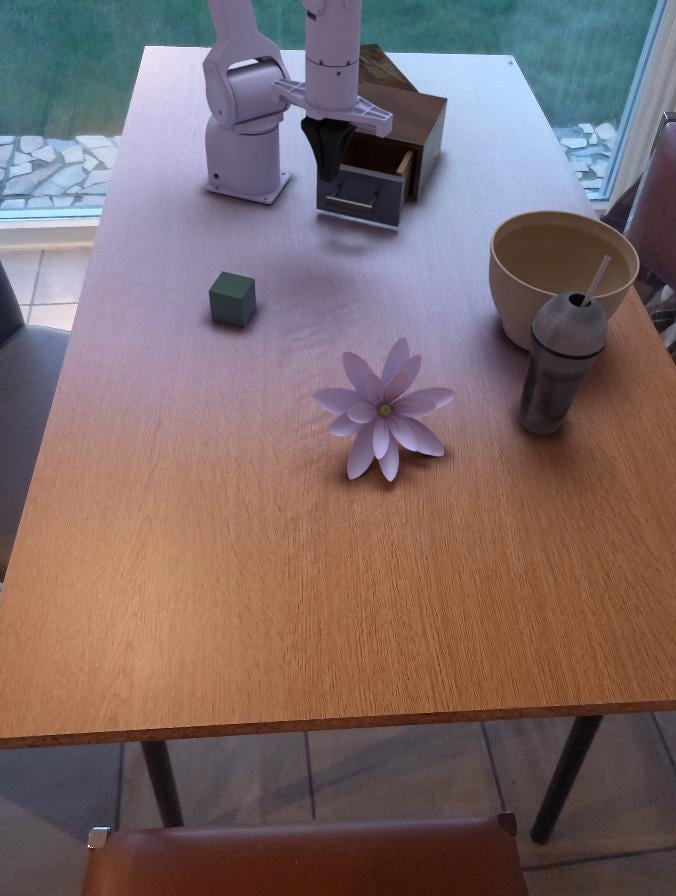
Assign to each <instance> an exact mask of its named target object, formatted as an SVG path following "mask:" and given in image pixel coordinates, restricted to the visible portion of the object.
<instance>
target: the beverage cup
mask: <svg viewBox="0 0 676 896" xmlns="http://www.w3.org/2000/svg"><path fill="white" fill-rule="evenodd" d="M609 261H610V257H609V256H605V258H604V260H603V262H602V264H601V266H600V268H599V270H598V272H597V274H596V276H595V278H594V281H593V283H592V285H591V287H590V289H589V291H588V293H587V294H585V293H581V292H574V291H572V292H565V293H561V294H559V295H556V296H554V297H553V298H551V299H550V300H549V301H548V302H547V303H545V304H544V305H543V306H542V307H541V309H540V310H539V312H538V314H537V316H536V318H535V319H534V320H533V323H532V325H531V337H530V351H529V353H528V359H527V360H528V361H527V365H526V370H525V375H524V379H523V380H524V381H523V385H522V390H521V397H520V402H519V413H518V421H519V422H520V424H521V426H522V427H523V428H524V429H526V430H527V431H529V432H531V433H534V434H537V435H550V434H552V433H554V432H555V433H556V431H557V430H558V429H559V427H560V425H561V424H562V422H563V420H564V419H565V418H566V415H568V412H569V410H570V408H571V406H572V404H573V403H574V400H575V398H576V396H577V394H578V393H579V391H580V389H581V386H582V384H583V382H584V380H585V378H586V377H587V374H588V373H589V371H590V369H591V367H592V366H593V365H594V364H595V362H596V361H597V359H598V358H599V357H600V355H601V353H602V352H603V351H604V350H605V347H606V344H607V337H608V336H607V335H608V332H609V331H608V330H609V328H608V321H607V319H606V315H605V312H604V310H603V308H602V307H601V305H600V304H599V303H598V302H597V301H596V300H595V299H594V298H593V297H592V295H593V293H594V291H595V289H596V287H597V285H598V283H599V281H600V279H601V277H602V275H603V273H604V271H605V269H606V267H607V265H608V263H609Z"/></svg>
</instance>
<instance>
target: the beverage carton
mask: <svg viewBox="0 0 676 896" xmlns="http://www.w3.org/2000/svg"><path fill="white" fill-rule="evenodd" d="M363 82H368V83H373V84H378V85H383V86H388V87H393V88H398V89H403V90H408V91H413V92H418V93H421V92H420V91H419V90H418V89H417V87H415V85H414V84H413V83H412V82H411V81H410V80H409V79H408V78H407V77H406V75H404V74H403V72H402V71H401V70H400V69H399V68H398V67H397V65H396V64H395V63H394V62H393V61H392V60H391V58H390V57H389V55H387V54H386V53H385V52H384V51H383V49H382V47H380V46H379V44H378V43H366V44H365V43H364V44H363V43H362V44H360V50H359V69H358V88H357V90H358V89H359V87H360V86H361V85H362V83H363Z"/></svg>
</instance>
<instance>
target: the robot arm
mask: <svg viewBox="0 0 676 896" xmlns="http://www.w3.org/2000/svg"><path fill="white" fill-rule="evenodd" d="M300 1H301V6H302V7H303V8H304V9H305V11H304V12H305V15H304V16H305V18H304V19H305V25H304V26H305V28H304V29H305V30H304V31H305V32H304V33H305V34H304V36H305V37H304V38H305V41H304V47H305V49H304V51H305V52H304V69H305V70H304V81H297V80H292V79H291V75H290V73H289V71H288V69H287V68H286V66H285V63H284V61H283V57H282V54H281V50H280V47H279V45H278V44H276V43H275V42H274V41H273V40H271V39H269V38H268V37H267V36H265V35H263V34H262V33H261V32H260V31H259V28H258V24H257V20H256V16H255V11H254V6H253V2H252V0H207V3H208V7H209V11H210V16H211V19H212V23H213V27H214V31H215V35H216V41H215V42H214V44H213V45H212V47H211V48H210V51H209V52H208V53H207V54H206V56H205V58H204V60H203V61H202V65H201V66H202V71H203V76H204V83H205V97H206V102H207V105H208V108H209V111H210V113H211V115H210V117H209V119H208V120H207V123H206V127H205V133H204V148H205V158H206V167H207V177H208V184H207V186H206V189H207V191H208V192H212V193H216V194H221V195H225V196H230V197H235V198H239V199H244V200H248V201H253V202H257V203H261V204H266V205H272V204H274V202H275V201H276V199H277V197H278V196H279V195H280V193H281V191H282V190H283V189H284V187H285V185H287V183H288V182H289V180H290V179H291V174H290V173H288V172H284V171H281V156H280V154H281V151H280V150H281V149H280V123H283V122H284V120H285V115H284V113H286V112H287V111H289V110H290V107H291V106H294V107H298V108H300V109H303V110H305V116H304V118H302V119H301V120H300V129H301V131H302V132H303V134H304V135H305V137H306V139H307V141H308V143H309V145H310V147H311V150H312V154H313V156H314V159H315V163H316V168H317V167H318V172H319V176H320V180H322V181H325V182H328V183H331V182H332V181H333V180H334V179H335V178H336V177H338V173H339V168H340V165H341V161H342V158H343V155H344V152H345V150H346V147H347V145H348V143H349V141H350V139H351V137H352V135H353V133H354V131H355V130H356V128H357V126H358V127H361V128H364V129H367V130H370V131H373V132H376V136H378V137H381V138H384V137H385V136H387V135H388V134H389V133H390V132H391V131H392V120H393V114H392V113H389V112H386V111H384V110H382V109H380V108H378V107H377V106H375V105H373V104H372V103H370V102H368V101H367V100H365V99H363V98H362V97H360V96H358V95H357V88H358V69H359V50H360V45H361V30H362V11H363V8H362V7H363V0H300ZM250 60H255V61H256V62H254V63H250V64H246V65H241V66H238V67H234V68H230V67H231V66H232V65H234V64H238V63H241V62H245V61H246V62H247V61H250Z"/></svg>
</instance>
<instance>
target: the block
mask: <svg viewBox="0 0 676 896" xmlns="http://www.w3.org/2000/svg"><path fill="white" fill-rule="evenodd" d="M208 298H209V307H210V308H209V309H210V314H211V315H210V316H211V320H212V321H216V322H220V323H224V324H227V325H233V326H236V327H241V328H245V327H246V325H247V323H248V322H249V321H250V318H251V317H252V315H253V314H254V312H255V310H256V309H257V292H256V278H253V277H249V276H244V275H241V274H236V273H232V272H227V271H224V270H222V271H221V272H220V273H219V275H218V277H217V278H216V279H215V280H214V282H213V284H212V285H211V286H210V287H209V289H208Z"/></svg>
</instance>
